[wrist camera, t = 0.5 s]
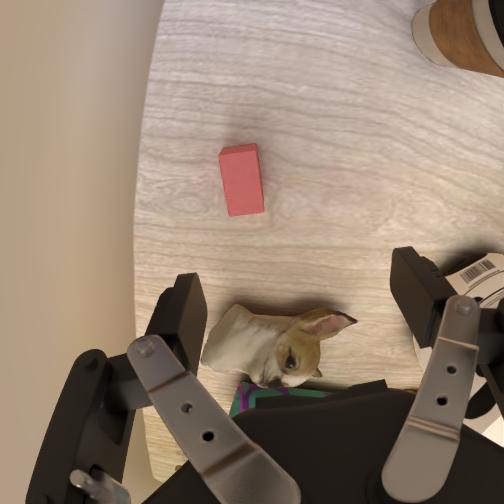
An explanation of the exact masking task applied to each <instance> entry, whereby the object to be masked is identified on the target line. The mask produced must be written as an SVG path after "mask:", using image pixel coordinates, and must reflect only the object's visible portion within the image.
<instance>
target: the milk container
mask: <svg viewBox="0 0 504 504" xmlns="http://www.w3.org/2000/svg"><path fill="white" fill-rule="evenodd" d="M444 277H445V278H446V279H447V280H448V281H449V283H450V284H451V285H452V286H453V288H454V289H455V290H456V292H457V293H458V294H459V295H466V296H469V297H471V298H473V299H474V300H476V301H477V302H478V304H479V305H480V308H497V306H498V303H499V301H500V299H502V298H503V297H504V255H502V254H497V253H484V254H480V255H476V256H473V257H470V258H469V259H467V260H465V261H463V262H462V263H460V264H458V265H457V266H455V267H454V268H453V269H451V270H450V271H449V272H448V273H447V274H446V275H445V276H444ZM413 343H414V348H415V352H416V356H417V359H418V362H419V364H420V367H421V369H422V370H423V372H424V373H425V370H426V367H427V364H428V362H429V359H430V356H431V353H432V349H431V347H427V348H423V349H420V347H419V345H418V343H417V341H416V339H415V337H414V335H413ZM463 424H465V425H467V426H468V427H470V428H472V429H473V430H475V431H477V432H478V433H480V434H482V435H483V436H485V437H487V438H488V439H490V440H492V441H493V442H495V443H497V444H498V445H500V446H502V447H503V446H504V420H503V418H502V415H501V413H500V410H499V408H498V405H497V403H496V401H495V398H494V396H493V394H492V392H491V389H490V387H489V385H488V383H487V381H486V379H485V376H484V374H483V372H482V370H481V368H480V366H479V364H477V365H476V370H475V375H474V380H473V385H472V389H471V393H470V398H469V402H468V406H467V409H466V413H465V417H464V420H463Z"/></svg>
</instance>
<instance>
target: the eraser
mask: <svg viewBox="0 0 504 504" xmlns="http://www.w3.org/2000/svg"><path fill="white" fill-rule="evenodd" d="M219 162H220V168H221V174H222V180H223V185H224V191H225V197H226V202H227V208H228V214H229V216H230V217H231V216H239V215H247V214H255V213H263V212H264V198H263V190H262V182H261V175H260V167H259V160H258V153H257V145H256V144H248V145H241V146H234V147H227V148H223V149H222V150H221V152H220V154H219Z"/></svg>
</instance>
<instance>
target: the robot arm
mask: <svg viewBox="0 0 504 504" xmlns="http://www.w3.org/2000/svg"><path fill="white" fill-rule="evenodd" d="M390 289H391V293H392V295H393V297H394V299H395V301H396V303H397V304H398V306H399V308H400V310H401V312H402V314H403V316H404V318H405V319H406V321H407V323H408V325H409V327H410V329H411V331H412V333H413V335H414V337H415V339H416V341H417V343H418V345H419V347H420V349H423V348H427V347H431V349H432V353H431V356H430V359H429V362H428V364H427V367H426V370H425V373H424V376H423V378H422V381H421V384H420V386H419V389H418V391H417V394H414V393H412V392H409V391H406V390H401V389H395V388H388V387H387V384H386V382H385V379H383V380H378V381H373V382H368V383H363V384H357V385H353V386H351V387H348V388H346V389H343V390H341V391H338V392H336V393H333V394H331V395H328V396H325V397H310V396H298V395H279V396H268V397H255V407H253V408H249V409H247V410H244V411H242V412H240V413H238V414H236V415H235V416H233V417H232V418H230V417H229V416H228V415H227V413H226V412H225V411H224V410H223V409H222V408H221V407H220V405H219V404H218V403H217V402H216V401H215V400H214V398H213V397H212V396H211V395H210V394H209V393H208V391H207V390H206V389H205V388H204V387H203V385H202V384H201V383H200V382H199V380H198V379H197V378H196V377H197V371H198V365H199V360H200V354H201V349H202V343H203V338H204V332H205V327H206V321H207V304H206V301H205V297H204V294H203V290H202V287H201V283H200V280H199V276H198V274H197V273H187V274H179V275H178V276H177V279H176V281H175V284H174V287H169V288H167V289H166V290H165V291H164V292H163V293H162V294H161V295H160V297H159V299H158V302H157V306H156V307H155V309H154V313H153V314H152V317H151V320H150V322H149V325H148V327H147V330H146V332H145V335H144V336H142V337H139V338H137V339H136V340H134V341H133V342H132V343H131V344H130V346H129V347H128V350H127V353H125V354H122V355H118V356H114V357H110V358H107V356H106V355H105V353H104V352H103V351H101V350H99V349H92V350H88V351H86V352H84V353H82V354H81V355H80V356H79V357H78V358H77V359H76V360H75V362H74V364H73V366H72V368H71V371H70V373H69V375H68V378H67V380H66V382H65V385H64V388H63V390H62V392H61V395H60V397H59V400H58V402H57V405H56V407H55V410H54V412H53V415H52V418H51V420H50V423H49V426H48V429H47V431H46V434H45V437H44V440H43V443H42V446H41V449H40V452H39V455H38V458H37V461H36V465H35V468H34V471H33V474H32V478H31V481H30V484H29V488H28V492H27V495H26V500H25V502H26V503H25V504H131V497H130V494H129V492H128V490H127V489H126V488H125V487H124V486H123V485H122V478H123V473H124V467H125V462H126V456H127V451H128V446H129V441H130V436H131V431H132V426H133V421H134V417H135V412H136V409H139V408H143V407H148V406H151V405H154V407H155V409H156V410H157V412H158V414H159V415H160V417H161V419H162V420H163V422H164V423H165V425H166V427H167V428H168V430H169V431H170V433H171V434H172V436H173V437H174V439H175V440H176V442H177V443H178V445H179V446H180V448H181V449H182V451H183V452H184V454H185V455H186V457H187V458H188V459H189V460H188V461H187V462H186V463H185V464H184V465H183V466H182V467H180V468H179V469H178V470H177V471H176V472H175V473H174V474H173V475H172V476H171V477H170V478H169V479H168V480H167V481H166V482H165V483H164V484H163V485H161V486H160V487H159V488H158V489H157V490H156V491H155V492H154V493H153V494H152V495H151V496H149V497H148V498H147V499H146V500H145V501H144V502H143V503H141V504H504V448H503V447H502V446H500V445H498V444H497V443H495V442H493V441H492V440H490V439H488V438H487V437H485V436H483V435H482V434H480V433H478V432H477V431H475V430H473V429H472V428H470V427H468V426H467V425H465V424H463V420H464V417H465V413H466V409H467V406H468V402H469V398H470V393H471V389H472V385H473V380H474V375H475V370H476V365H477V364H479V366H480V368H481V370H482V372H483V374H484V376H485V379H486V381H487V383H488V385H489V387H490V389H491V392H492V394H493V396H494V398H495V401H496V403H497V405H498V408H499V410H500V413H501V415H502V418H503V420H504V297H503V298H502V299H500V301H499V303H498V306H497V308H480V305H479V304H478V302H477V301H476V300H474V299H473V298H471V297H469V296H466V295H459V294H458V293H457V292H456V290H455V289H454V288H453V286H452V285H451V284H450V283H449V281H448V280H447V279H446V278H445V277H444V275H443V274H442V273H441V271H439V269H438V268H437V266H436V265H435V264H434V263H433V262H432V261H430V260H429V259H427V258H426V257H424V256H422V257H420V256H419V255H418V253H417V252H416V251H415V250H414V248H413V247H411V246H408V247H401V248H395V249H394V250H393V253H392V264H391V274H390Z"/></svg>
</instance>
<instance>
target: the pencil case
mask: <svg viewBox="0 0 504 504" xmlns="http://www.w3.org/2000/svg"><path fill="white" fill-rule="evenodd" d="M331 394H333V393H331V392H324V391H318V390H309V389H300V388H292V387H283V388H278V389H274V390H272V389H269V388H262V387H259V386H258V385H257V384H250V383H248V382H244V381H242V382H241V383H240V384H239V386H238V389H237V391H236V395H235V398H234V401H233V404H232V407H231V410H230V413H229V417H230V418H232V417H233V416H235V415H236V414H238V413H240V412H242V411H244V410H247V409H249V408H253V407H255V397H268V396H279V395H298V396H310V397H325V396H328V395H331Z"/></svg>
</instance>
